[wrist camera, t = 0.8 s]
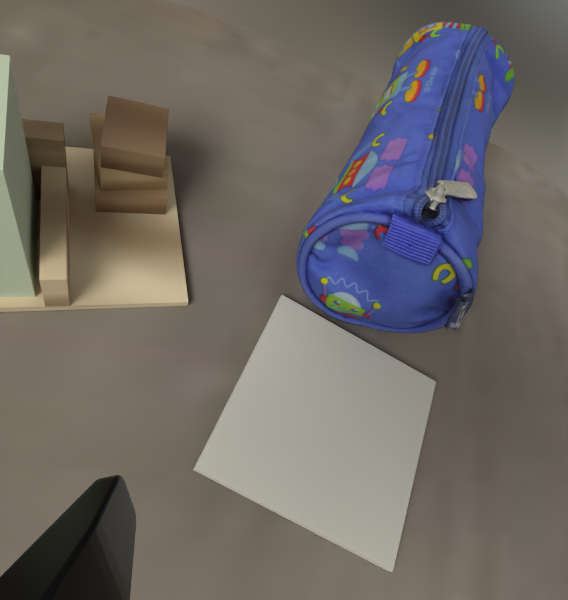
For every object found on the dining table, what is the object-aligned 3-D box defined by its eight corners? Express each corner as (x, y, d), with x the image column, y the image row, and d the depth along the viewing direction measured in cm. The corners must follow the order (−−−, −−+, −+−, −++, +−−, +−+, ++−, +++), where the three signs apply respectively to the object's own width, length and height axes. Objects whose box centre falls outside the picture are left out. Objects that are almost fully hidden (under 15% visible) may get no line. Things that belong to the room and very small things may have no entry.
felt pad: (388, 571, 21) (392, 571, 21) (192, 469, 20) (194, 468, 20) (432, 383, 26) (436, 381, 26) (279, 297, 26) (281, 294, 25)
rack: (187, 305, 24) (204, 258, 20) (-78, 314, 19) (-121, 257, 16) (169, 160, 27) (180, 97, 24) (-55, 141, 23) (-86, 61, 19)
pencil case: (396, 374, 26) (525, 298, 18) (263, 299, 26) (337, 186, 18) (459, 149, 38) (554, 45, 30) (370, 94, 38) (444, -28, 30)
